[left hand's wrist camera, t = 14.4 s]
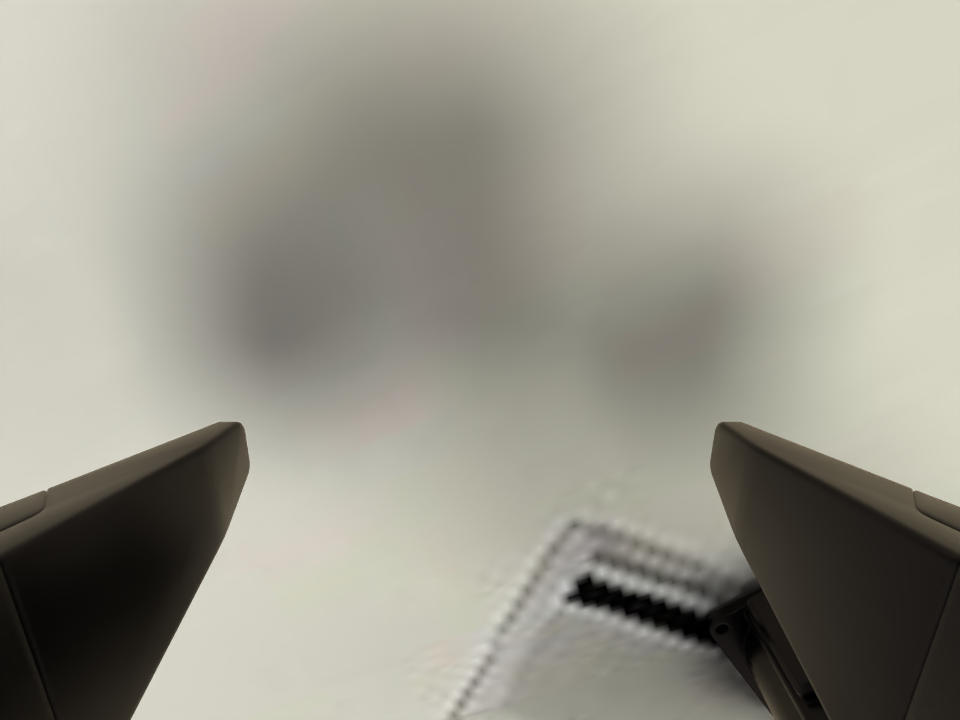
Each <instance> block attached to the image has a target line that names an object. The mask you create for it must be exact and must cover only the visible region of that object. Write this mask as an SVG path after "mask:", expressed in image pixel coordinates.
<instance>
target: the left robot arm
mask: <svg viewBox="0 0 960 720" xmlns="http://www.w3.org/2000/svg"><path fill="white" fill-rule="evenodd" d="M249 467H250V461H249V454H248V448H247V442H246V435H245V430H244V427H243V425H242V424H241V423H239V422H218V423H215V424H213V425H210V426H208V427H205V428H203V429H200V430H197V431H195V432H192V433H190V434H187V435H185V436H182V437H180V438H177V439H174V440H172V441H169V442H167V443H164V444H162V445H159V446H156V447H154V448H151V449H149V450H146V451H144V452H141V453H139V454H136V455H133V456H131V457H128V458H126V459H123V460H121V461H118V462H115V463H113V464H110V465H108V466H105V467H103V468H100V469H98V470H95V471H92V472H90V473H87V474H85V475H82V476H80V477H77V478H74V479H72V480H69V481H67V482H64V483H62V484H59V485H57V486H54V487H51V488H49V489H48V490H47V492H46V491H41V492H38V493H36V494H33V495H31V496H28V497H26V498H23V499H20V500H18V501H15V502H12V503H10V504H7V505H4V506H2V507H0V720H131V718H132V716H133V714H134V712H135V710H136V708H137V706H138V704H139V702H140V700H141V698H142V697H143V695H144V693H145V691H146V689H147V687H148V685H149V683H150V681H151V679H152V677H153V675H154V673H155V671H156V669H157V668H158V666H159V664H160V662H161V660H162V658H163V656H164V654H165V652H166V650H167V648H168V646H169V644H170V642H171V640H172V638H173V637H174V635H175V633H176V631H177V629H178V627H179V625H180V623H181V621H182V619H183V617H184V615H185V613H186V611H187V609H188V607H189V606H190V604H191V602H192V600H193V598H194V596H195V594H196V592H197V590H198V588H199V586H200V584H201V582H202V580H203V578H204V577H205V575H206V573H207V571H208V569H209V567H210V565H211V563H212V561H213V559H214V557H215V555H216V553H217V551H218V549H219V547H220V545H221V543H222V541H223V539H224V537H225V534H226V532H227V530H228V527H229V524H230V522H231V519H232V516H233V514H234V511H235V508H236V506H237V503H238V500H239V497H240V495H241V492H242V489H243V487H244V484H245V481H246V479H247V476H248V473H249ZM710 467H711V473H712V476H713V479H714V481H715V484H716V487H717V489H718V492H719V495H720V497H721V500H722V503H723V506H724V508H725V511H726V514H727V516H728V519H729V522H730V524H731V527H732V530H733V532H734V534H735V537H736V539H737V541H738V543H739V545H740V547H741V549H742V551H743V553H744V555H745V557H746V559H747V561H748V563H749V565H750V567H751V569H752V571H753V573H754V575H755V577H756V578H757V580H758V582H759V584H760V586H761V589H759V590H757V591H755V592H753V593H751V594H749V595H748V596H746V597H744V598H742V599H740V600H738V601H736V602H734V603H732V604H730V605H728V606H726V607H724V608H722V609H720V610H718V611H716V612H715V613H713V614H711V615H710V616H709V617H708V618H707V620H706V625H707V627H708V629H709V632H710V634H711V636H712V637H713V638H714V639H715V641H716V642H717V643H718V645H719V646H720V647H721V649H722V650H723V651H724V653H725V654H726V655H727V657H728V658H729V659H730V660H731V662H732V663H733V664H734V666H735V667H736V668H737V670H738V671H739V672H740V674H741V675H742V676H743V677H744V679H745V680H746V681H747V683H748V684H749V685H750V687H751V688H752V689H753V691H754V692H755V693H756V695H757V696H758V697H759V698H760V700H761V701H762V702H763V704H764V705H765V706H766V708H767V709H768V710H769V712H770V713H771V714H772V716H773V717H774V719H775V720H960V507H958V506H956V505H953V504H950V503H948V502H945V501H942V500H940V499H937V498H934V497H932V496H929V495H927V494H924V493H922V492H919V491H914V492H913V490H912V489H911V488H909V487H906V486H903V485H901V484H898V483H896V482H893V481H891V480H888V479H886V478H883V477H880V476H878V475H875V474H873V473H870V472H868V471H865V470H862V469H860V468H857V467H855V466H852V465H850V464H847V463H845V462H842V461H839V460H837V459H834V458H832V457H829V456H827V455H824V454H821V453H819V452H816V451H814V450H811V449H809V448H806V447H804V446H801V445H798V444H796V443H793V442H791V441H788V440H786V439H783V438H780V437H778V436H775V435H773V434H770V433H768V432H765V431H763V430H760V429H757V428H755V427H752V426H750V425H747V424H745V423H742V422H721V423H719V424H718V425H717V427H716V430H715V435H714V442H713V448H712V454H711V461H710ZM721 624H723V625H721ZM719 625H721V626H719Z"/></svg>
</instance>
